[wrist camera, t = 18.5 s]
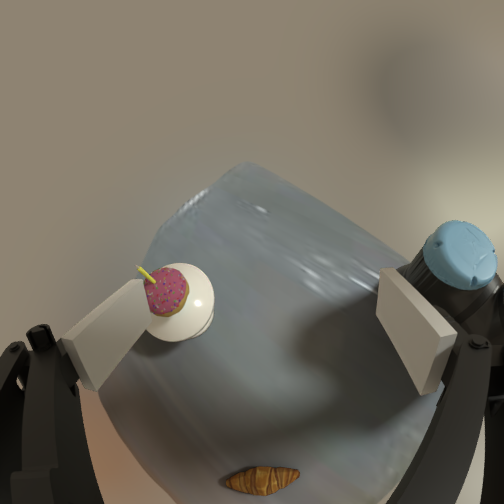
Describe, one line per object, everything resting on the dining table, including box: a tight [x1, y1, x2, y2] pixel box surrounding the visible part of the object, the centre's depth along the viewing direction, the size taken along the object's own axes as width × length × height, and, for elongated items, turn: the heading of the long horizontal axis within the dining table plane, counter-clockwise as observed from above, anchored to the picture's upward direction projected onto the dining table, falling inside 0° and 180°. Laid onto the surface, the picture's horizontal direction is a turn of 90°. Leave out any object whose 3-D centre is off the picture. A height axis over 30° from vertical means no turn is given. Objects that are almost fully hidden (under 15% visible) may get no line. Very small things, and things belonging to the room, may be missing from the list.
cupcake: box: [135, 265, 190, 317], centre depth 42 cm, size 9×8×12 cm
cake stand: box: [146, 263, 215, 342], centre depth 50 cm, size 15×15×8 cm
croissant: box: [226, 466, 300, 496], centre depth 34 cm, size 14×7×5 cm, turn 101°
